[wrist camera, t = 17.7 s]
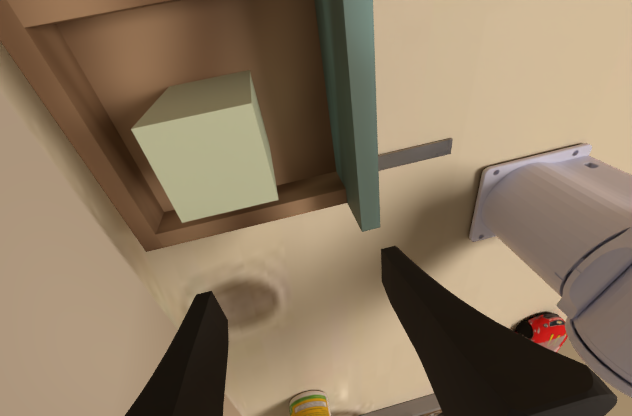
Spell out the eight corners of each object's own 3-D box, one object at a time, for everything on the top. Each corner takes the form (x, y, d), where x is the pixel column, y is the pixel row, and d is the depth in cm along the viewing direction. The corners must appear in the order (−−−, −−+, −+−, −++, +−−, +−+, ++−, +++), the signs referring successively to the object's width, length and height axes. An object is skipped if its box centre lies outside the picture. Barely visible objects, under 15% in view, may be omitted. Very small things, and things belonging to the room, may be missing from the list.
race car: (529, 307, 40) (561, 341, 36) (564, 307, 42) (598, 339, 38) (468, 373, 48) (488, 406, 44) (500, 370, 50) (522, 402, 46)
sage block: (249, 69, 15) (251, 102, 10) (269, 143, 17) (278, 199, 12) (169, 86, 15) (131, 129, 10) (200, 159, 17) (182, 223, 12)
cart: (318, -75, 14) (369, -127, 8) (346, 178, 22) (380, 238, 16) (25, -23, 13) (-141, -42, 7) (167, 221, 21) (139, 299, 15)
